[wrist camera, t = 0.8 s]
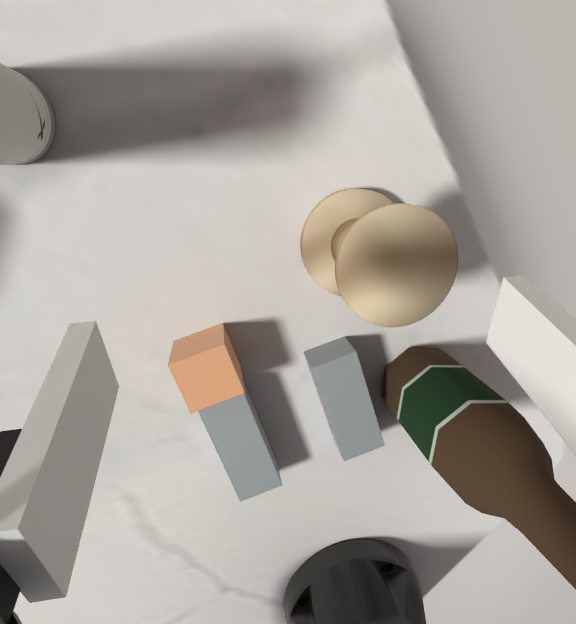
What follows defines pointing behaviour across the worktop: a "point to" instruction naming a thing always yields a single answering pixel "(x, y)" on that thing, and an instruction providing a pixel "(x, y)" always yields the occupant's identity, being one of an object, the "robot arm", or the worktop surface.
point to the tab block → (206, 368)
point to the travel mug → (23, 119)
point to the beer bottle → (483, 450)
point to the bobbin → (380, 255)
